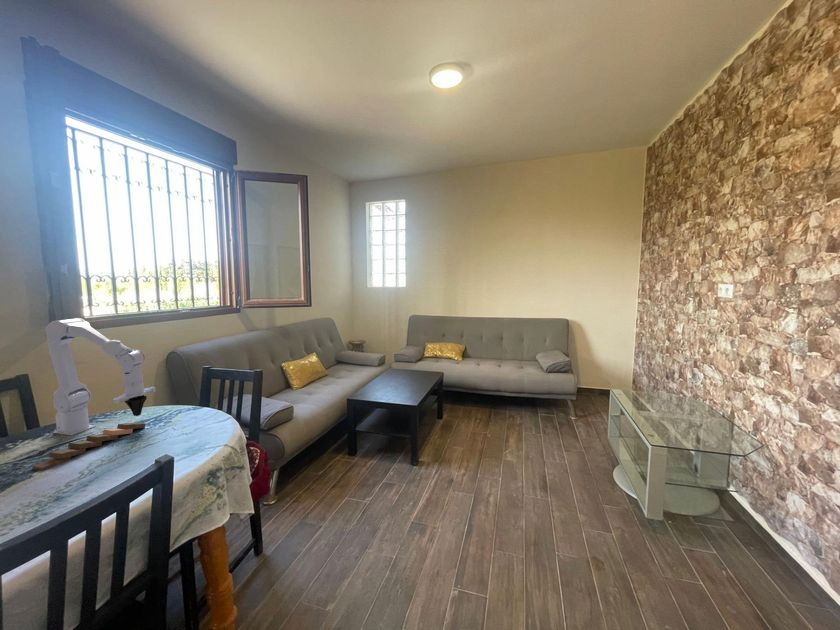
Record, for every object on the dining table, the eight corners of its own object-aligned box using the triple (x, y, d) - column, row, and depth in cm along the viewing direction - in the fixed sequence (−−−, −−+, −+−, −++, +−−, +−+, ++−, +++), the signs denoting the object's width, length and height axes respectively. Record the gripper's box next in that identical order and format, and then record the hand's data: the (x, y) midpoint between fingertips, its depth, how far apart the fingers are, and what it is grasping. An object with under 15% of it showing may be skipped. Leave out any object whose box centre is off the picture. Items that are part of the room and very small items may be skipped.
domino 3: (101, 445, 119) (78, 449, 112) (91, 444, 120) (67, 447, 113) (102, 441, 120) (79, 444, 113) (92, 439, 120) (69, 442, 114)
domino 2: (85, 452, 114) (60, 458, 107) (74, 451, 115) (48, 457, 108) (86, 448, 114) (61, 453, 108) (74, 446, 115) (49, 452, 108)
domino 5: (144, 427, 134) (126, 429, 127) (135, 426, 134) (117, 428, 128) (145, 423, 134) (127, 425, 127) (136, 422, 135) (118, 423, 128)
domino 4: (117, 439, 124) (95, 441, 117) (108, 437, 125) (86, 440, 118) (118, 434, 124) (96, 437, 118) (109, 433, 125) (87, 435, 119)
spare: (131, 433, 129) (112, 435, 122) (122, 431, 130) (102, 434, 123) (132, 428, 129) (113, 430, 122) (123, 427, 130) (103, 429, 124)
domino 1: (71, 460, 111) (43, 472, 104) (60, 459, 112) (32, 470, 105) (70, 456, 110) (42, 467, 104) (60, 454, 112) (32, 466, 105)
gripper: (121, 388, 123) (125, 423, 125) (160, 377, 137) (163, 409, 139) (106, 387, 125) (110, 422, 127) (146, 376, 139) (149, 407, 141)
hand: (137, 415), depth 133 cm, fingers closed
